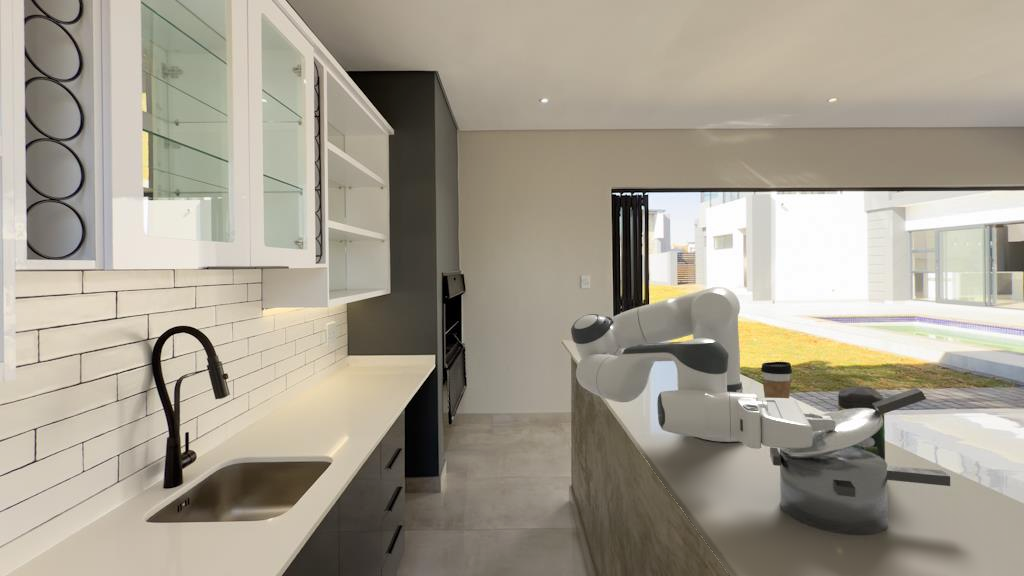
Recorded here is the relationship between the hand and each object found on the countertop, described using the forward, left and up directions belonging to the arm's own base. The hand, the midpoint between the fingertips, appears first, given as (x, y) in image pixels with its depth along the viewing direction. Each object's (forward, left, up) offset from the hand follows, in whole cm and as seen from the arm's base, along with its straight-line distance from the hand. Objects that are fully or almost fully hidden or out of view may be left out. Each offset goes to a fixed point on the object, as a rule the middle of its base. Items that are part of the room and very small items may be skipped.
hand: (833, 423), depth 89 cm
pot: (-1, +3, -16) cm, 16 cm away
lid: (-1, +3, -1) cm, 3 cm away
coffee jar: (-20, +9, -16) cm, 27 cm away
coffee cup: (-70, -1, -16) cm, 72 cm away
